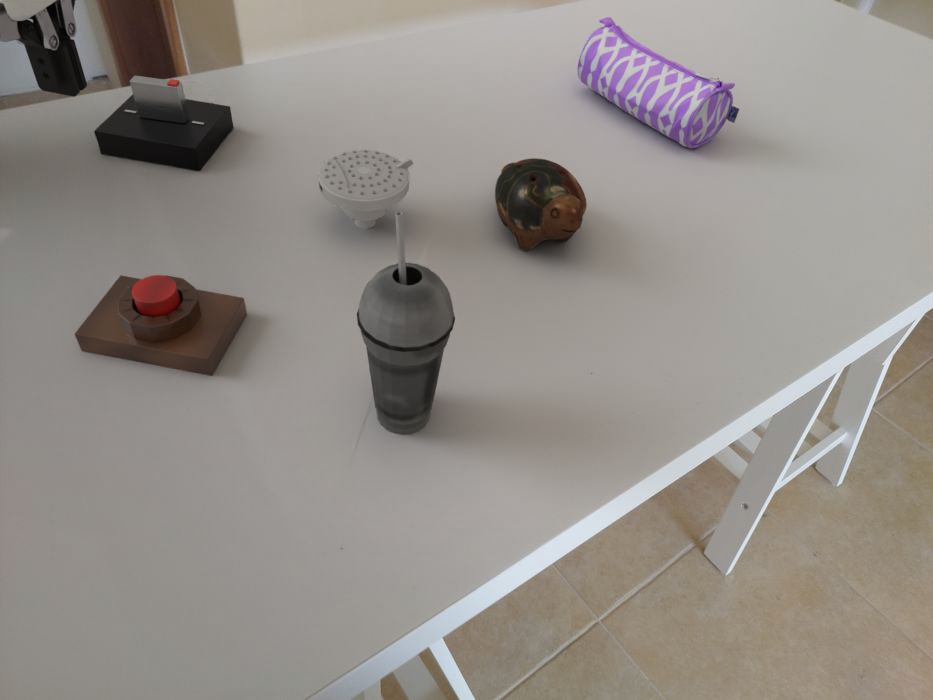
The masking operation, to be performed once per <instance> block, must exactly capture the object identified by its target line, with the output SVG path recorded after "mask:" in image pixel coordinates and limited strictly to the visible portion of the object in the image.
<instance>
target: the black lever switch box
mask: <svg viewBox="0 0 933 700" xmlns="http://www.w3.org/2000/svg"><path fill="white" fill-rule="evenodd" d="M185 100H186V105H187V110H188V114H189V119H188V120H187V121H186V123H177V122H170V121H162V120H155V119H148V118H141V117H139V115H138V111H137V108H136V104H135V100H134V96H133V94H131V95H130V96H129V97H128V98H127V99H126V100H125V101H124V102H123V103H122V104H121V105H119V106H118V108H116V110H114V111H113V112H112V113H111V114H110V115H109V116H108V117H107V118H106V119H105V120H103V122H102V123H100V125H98V127H96V128H95V130H93V132H94V135H95V139H96V143H97V146H98V148H99V152H100V155H105V156H111V157H116V158H122V159H128V160H132V161H133V160H134V161H140V162H144V163H146V162H147V163H151V164H156V165H162V166H168V167H173V168H179V169H186V170H192V171H198V172H201V170H202V169H203V168H204V166H205V165H206V164H207V162H208V161H209V160H210V159H211V157H212V156H213V155H214V154H215V153H216V151H218V149H219V148H220V146H221V145H222V144H223V143H224V142H225V140H226V139H227V137H229V135H230V134H231V132H233V130H234V128H235V127H234V122H233V117H232V115H233V114H232V109H231V106H230V105H225V104H218V103H213V102H207V101H201V100H195V99H189V98H185Z"/></svg>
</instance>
